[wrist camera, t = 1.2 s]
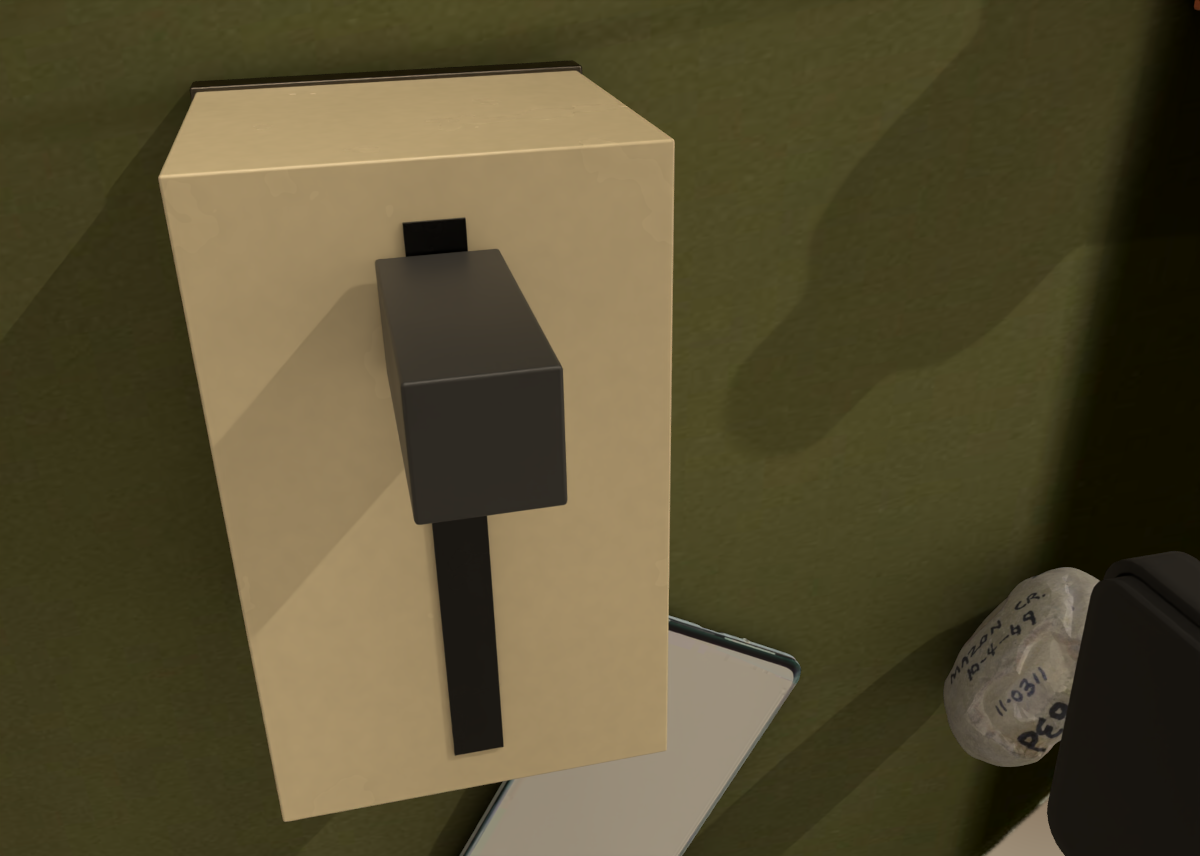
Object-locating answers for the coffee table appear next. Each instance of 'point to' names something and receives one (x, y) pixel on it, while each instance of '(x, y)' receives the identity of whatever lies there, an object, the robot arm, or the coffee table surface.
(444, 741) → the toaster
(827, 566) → the coffee table surface
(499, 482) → the slider
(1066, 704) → the fossil
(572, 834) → the smartphone
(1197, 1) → the timer box
